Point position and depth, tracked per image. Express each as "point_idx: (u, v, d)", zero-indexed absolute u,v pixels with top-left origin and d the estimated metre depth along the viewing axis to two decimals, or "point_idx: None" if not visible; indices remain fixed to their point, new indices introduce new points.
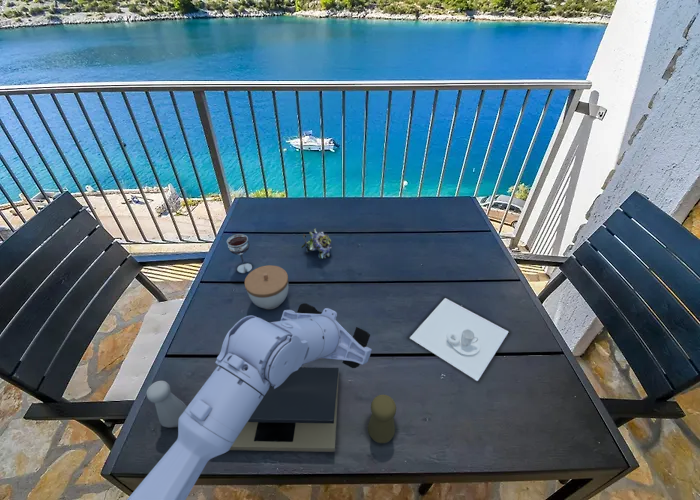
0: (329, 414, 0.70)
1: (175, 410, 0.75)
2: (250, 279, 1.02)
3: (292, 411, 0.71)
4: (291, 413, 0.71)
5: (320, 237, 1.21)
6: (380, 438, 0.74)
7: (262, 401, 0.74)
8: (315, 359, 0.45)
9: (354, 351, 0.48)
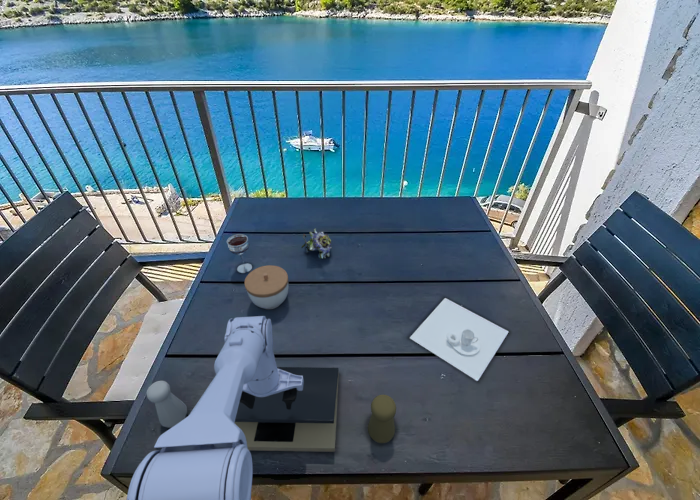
0: (329, 414, 0.70)
1: (175, 410, 0.75)
2: (250, 279, 1.02)
3: (292, 411, 0.71)
4: (291, 413, 0.71)
5: (320, 237, 1.21)
6: (380, 438, 0.74)
7: (262, 401, 0.74)
8: (270, 376, 0.61)
9: (293, 379, 0.65)
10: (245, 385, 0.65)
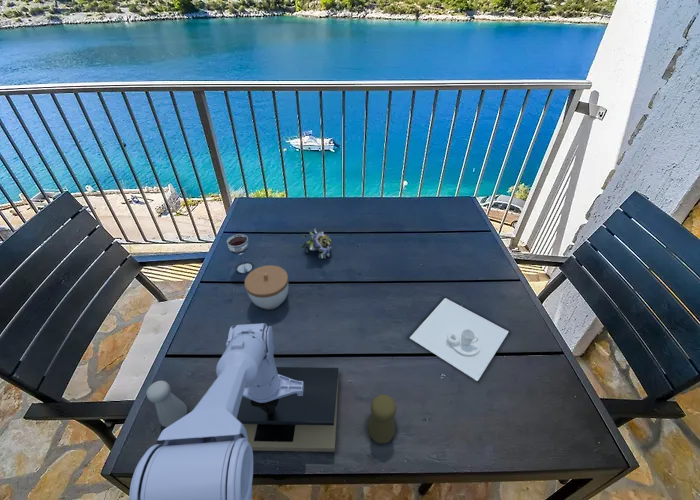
0: (329, 416, 0.70)
1: (175, 410, 0.75)
2: (250, 279, 1.02)
3: (292, 413, 0.71)
4: (291, 415, 0.71)
5: (320, 237, 1.21)
6: (380, 438, 0.74)
7: None
8: (271, 382, 0.62)
9: (293, 385, 0.66)
10: (246, 391, 0.66)
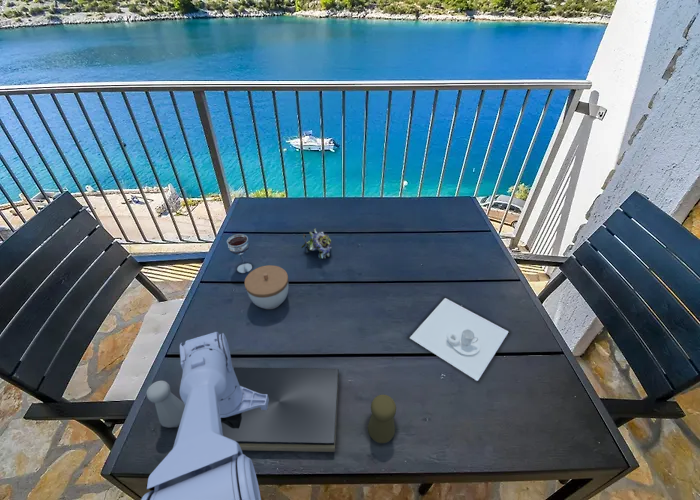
0: (330, 435, 0.72)
1: (175, 410, 0.75)
2: (250, 279, 1.02)
3: (294, 431, 0.73)
4: (293, 434, 0.73)
5: (320, 237, 1.21)
6: (380, 438, 0.74)
7: (264, 417, 0.76)
8: (230, 396, 0.58)
9: (256, 399, 0.62)
10: None
